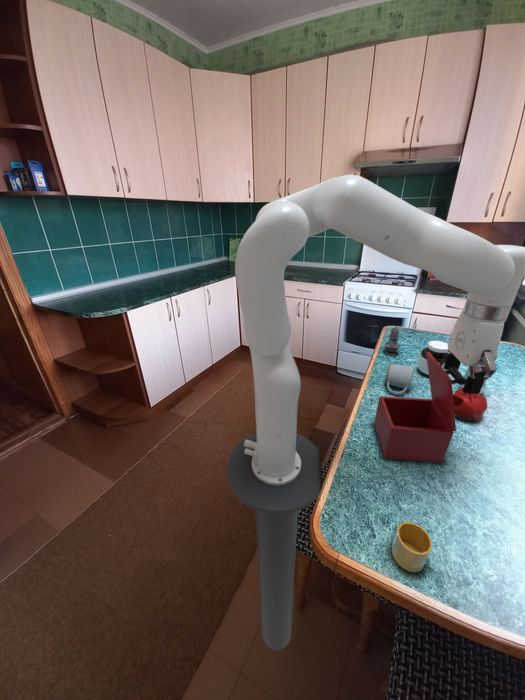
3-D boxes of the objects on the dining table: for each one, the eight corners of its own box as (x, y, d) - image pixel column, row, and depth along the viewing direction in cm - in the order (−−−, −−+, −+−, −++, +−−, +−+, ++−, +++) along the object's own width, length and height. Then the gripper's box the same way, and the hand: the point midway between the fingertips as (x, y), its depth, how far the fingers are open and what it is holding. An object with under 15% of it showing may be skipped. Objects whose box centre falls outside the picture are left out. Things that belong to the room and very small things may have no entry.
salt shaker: (399, 356, 118) (405, 329, 112) (383, 355, 119) (388, 328, 114) (397, 350, 123) (403, 324, 117) (382, 348, 124) (387, 322, 119)
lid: (447, 380, 60) (474, 375, 59) (425, 352, 71) (448, 347, 70) (452, 431, 66) (477, 428, 65) (431, 398, 77) (452, 394, 76)
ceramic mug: (386, 376, 105) (390, 358, 101) (411, 382, 101) (416, 363, 97) (381, 392, 97) (385, 373, 93) (408, 399, 93) (413, 379, 89)
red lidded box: (384, 457, 72) (391, 428, 68) (374, 423, 84) (379, 396, 79) (442, 463, 71) (453, 432, 66) (424, 427, 82) (432, 399, 77)
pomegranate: (480, 407, 89) (491, 382, 84) (485, 428, 81) (496, 401, 77) (443, 398, 93) (451, 374, 89) (444, 417, 85) (453, 391, 81)
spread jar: (418, 376, 104) (425, 348, 99) (413, 361, 114) (420, 334, 109) (455, 381, 101) (465, 352, 96) (447, 365, 111) (456, 338, 106)
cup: (391, 564, 51) (397, 546, 49) (392, 535, 56) (397, 517, 53) (425, 578, 50) (433, 560, 47) (423, 546, 54) (430, 528, 51)
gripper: (447, 296, 67) (428, 361, 75) (488, 325, 52) (459, 402, 60) (482, 297, 66) (460, 362, 74) (535, 327, 51) (499, 405, 59)
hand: (459, 380), depth 67 cm, fingers open, 9 cm apart
